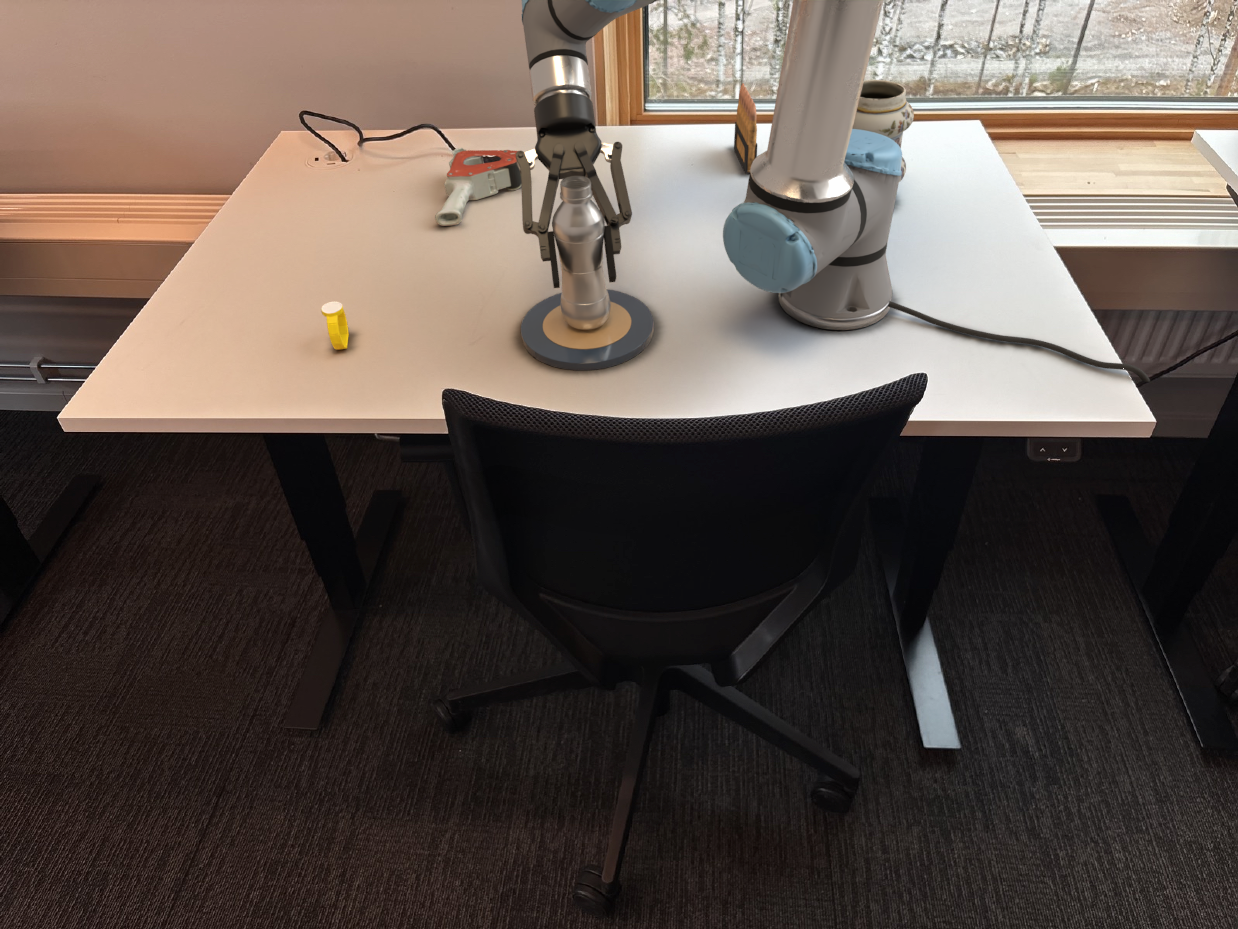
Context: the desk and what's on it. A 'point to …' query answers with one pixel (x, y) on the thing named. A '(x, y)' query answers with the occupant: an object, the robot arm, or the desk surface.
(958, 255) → the desk surface
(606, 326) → the plate
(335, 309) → the watch
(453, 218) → the tape dispenser
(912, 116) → the apothecary jar
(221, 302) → the desk surface
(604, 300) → the silver metal bottle
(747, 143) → the ammunition clip
